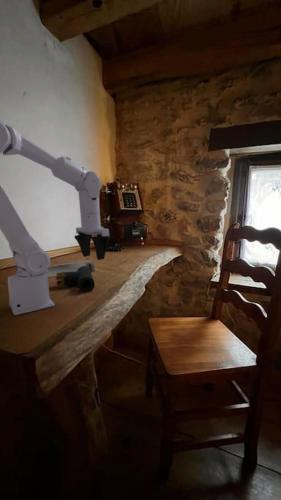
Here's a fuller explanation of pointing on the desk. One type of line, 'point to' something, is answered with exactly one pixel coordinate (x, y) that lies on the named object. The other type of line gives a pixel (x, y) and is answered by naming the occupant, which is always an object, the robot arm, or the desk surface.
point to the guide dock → (69, 267)
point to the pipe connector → (76, 279)
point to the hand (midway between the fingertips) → (93, 257)
